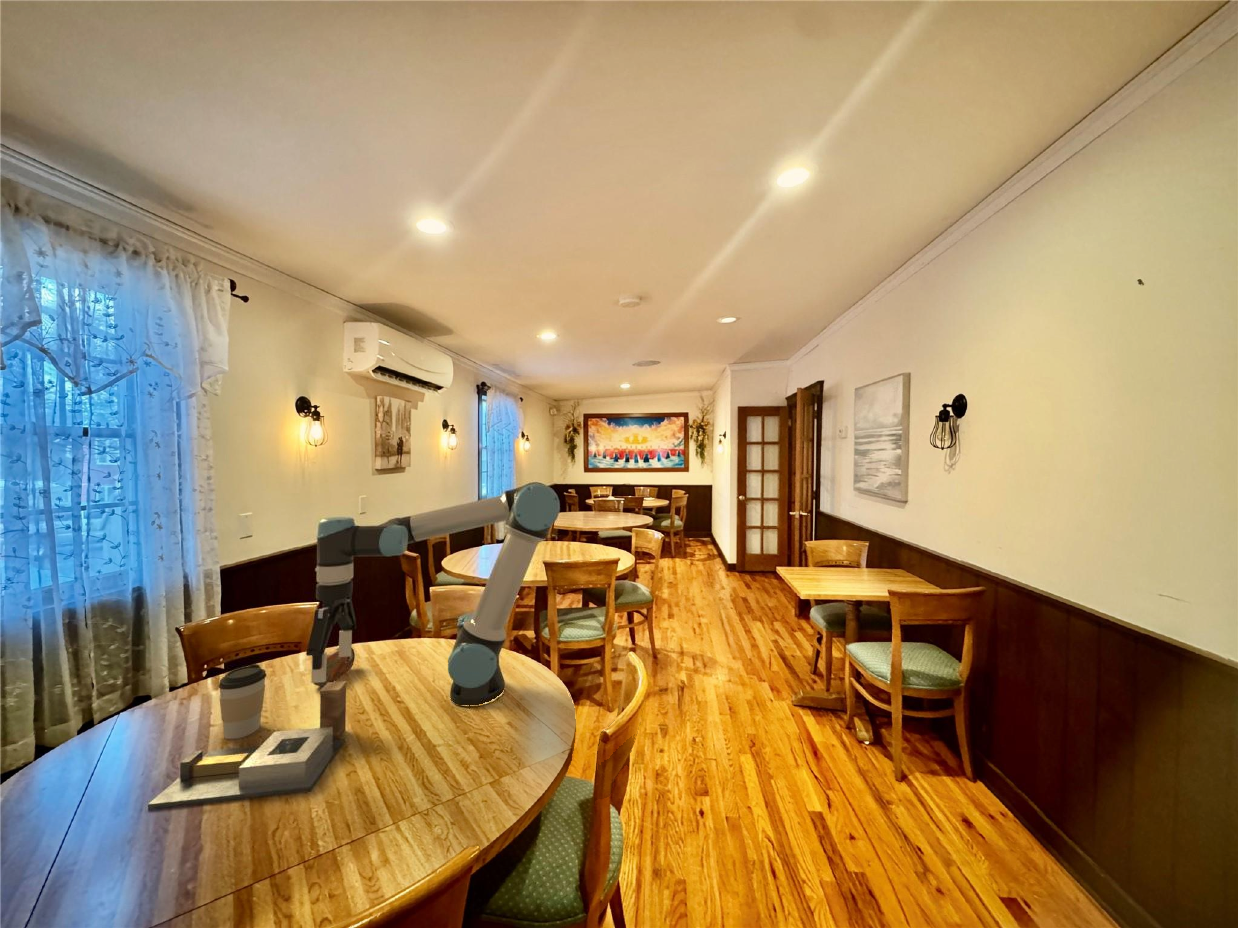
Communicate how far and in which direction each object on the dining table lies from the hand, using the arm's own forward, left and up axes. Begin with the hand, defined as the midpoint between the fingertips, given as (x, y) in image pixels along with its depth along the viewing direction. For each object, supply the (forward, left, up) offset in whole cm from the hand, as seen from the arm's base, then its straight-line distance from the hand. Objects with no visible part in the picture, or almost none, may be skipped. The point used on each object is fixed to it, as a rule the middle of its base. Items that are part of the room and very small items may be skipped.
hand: (332, 668), depth 106 cm
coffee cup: (+23, -6, -17) cm, 29 cm away
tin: (+13, -31, -17) cm, 37 cm away
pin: (+18, +11, -15) cm, 26 cm away
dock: (+10, +11, -17) cm, 22 cm away
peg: (0, 0, -17) cm, 17 cm away
